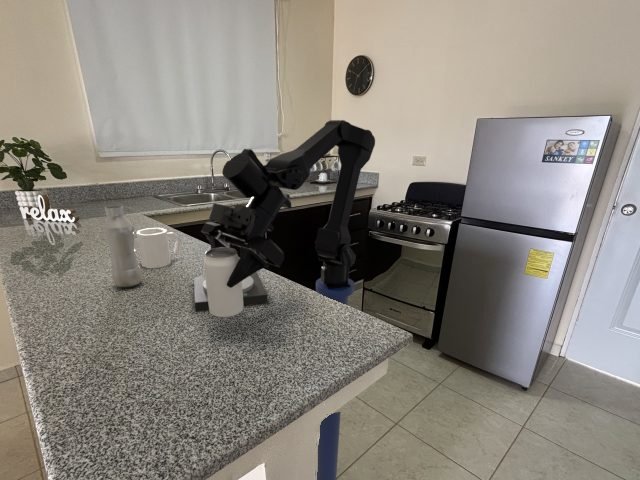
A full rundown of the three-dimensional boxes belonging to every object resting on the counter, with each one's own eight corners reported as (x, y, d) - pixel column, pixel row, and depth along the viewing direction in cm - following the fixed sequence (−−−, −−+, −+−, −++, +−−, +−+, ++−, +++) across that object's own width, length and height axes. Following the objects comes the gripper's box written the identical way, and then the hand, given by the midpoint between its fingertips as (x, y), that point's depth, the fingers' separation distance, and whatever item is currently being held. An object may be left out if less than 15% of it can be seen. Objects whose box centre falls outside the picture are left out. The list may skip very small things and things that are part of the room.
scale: (256, 279, 95) (256, 268, 94) (267, 302, 82) (267, 290, 80) (195, 285, 90) (193, 273, 89) (195, 311, 77) (194, 298, 76)
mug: (145, 270, 99) (139, 236, 95) (138, 261, 105) (132, 230, 101) (187, 262, 106) (184, 230, 102) (178, 254, 112) (174, 224, 108)
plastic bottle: (116, 281, 91) (99, 205, 83) (144, 278, 93) (131, 203, 85) (112, 291, 85) (94, 210, 78) (142, 288, 88) (128, 208, 80)
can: (246, 315, 66) (242, 255, 61) (211, 321, 64) (204, 259, 59) (240, 300, 72) (236, 245, 67) (207, 305, 69) (201, 248, 65)
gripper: (204, 180, 67) (157, 248, 64) (270, 192, 56) (218, 274, 52) (240, 214, 76) (200, 275, 72) (303, 230, 64) (260, 303, 61)
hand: (217, 281), depth 64 cm, fingers closed on can, 6 cm apart
